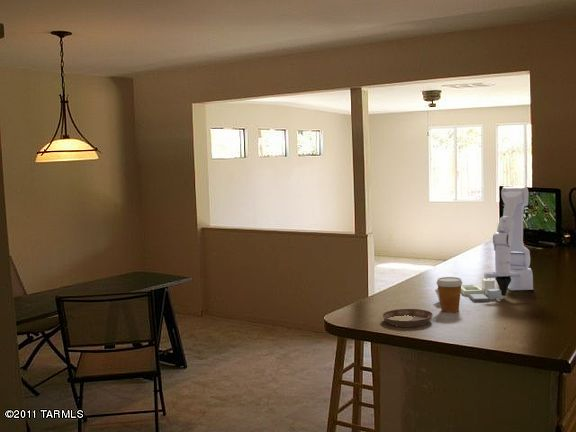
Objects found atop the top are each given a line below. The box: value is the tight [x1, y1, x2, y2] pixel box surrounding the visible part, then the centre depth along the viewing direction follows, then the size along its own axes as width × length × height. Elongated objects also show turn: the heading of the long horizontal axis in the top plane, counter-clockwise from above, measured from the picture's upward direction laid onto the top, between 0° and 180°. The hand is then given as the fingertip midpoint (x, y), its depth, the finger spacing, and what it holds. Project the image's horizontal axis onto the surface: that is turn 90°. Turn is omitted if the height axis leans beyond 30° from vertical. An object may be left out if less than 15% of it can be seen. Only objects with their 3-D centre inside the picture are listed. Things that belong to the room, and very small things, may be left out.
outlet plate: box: [460, 284, 484, 296], centre depth 256 cm, size 8×12×2 cm, turn 177°
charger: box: [481, 278, 496, 296], centre depth 251 cm, size 4×4×7 cm
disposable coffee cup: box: [435, 276, 463, 313], centre depth 226 cm, size 10×10×12 cm
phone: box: [468, 294, 490, 303], centre depth 242 cm, size 6×9×1 cm, turn 177°
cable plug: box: [487, 288, 503, 303], centre depth 240 cm, size 4×8×4 cm, turn 176°
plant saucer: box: [381, 308, 434, 327], centre depth 214 cm, size 18×18×3 cm
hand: (503, 295), depth 242 cm, fingers closed
